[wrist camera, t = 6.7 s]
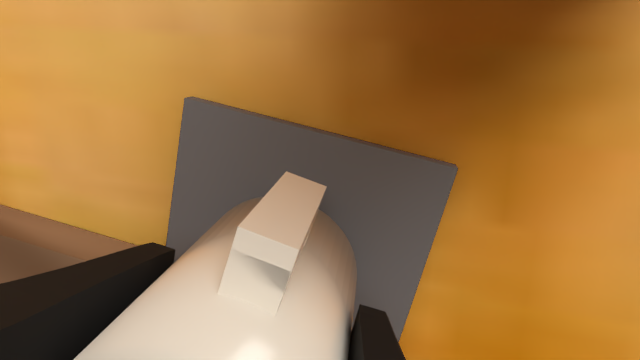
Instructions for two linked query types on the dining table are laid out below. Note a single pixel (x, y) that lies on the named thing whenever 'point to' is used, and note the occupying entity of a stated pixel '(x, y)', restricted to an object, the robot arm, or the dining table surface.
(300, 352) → the jug
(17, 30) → the dining table surface
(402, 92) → the dining table surface
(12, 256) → the jug holder
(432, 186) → the mat
